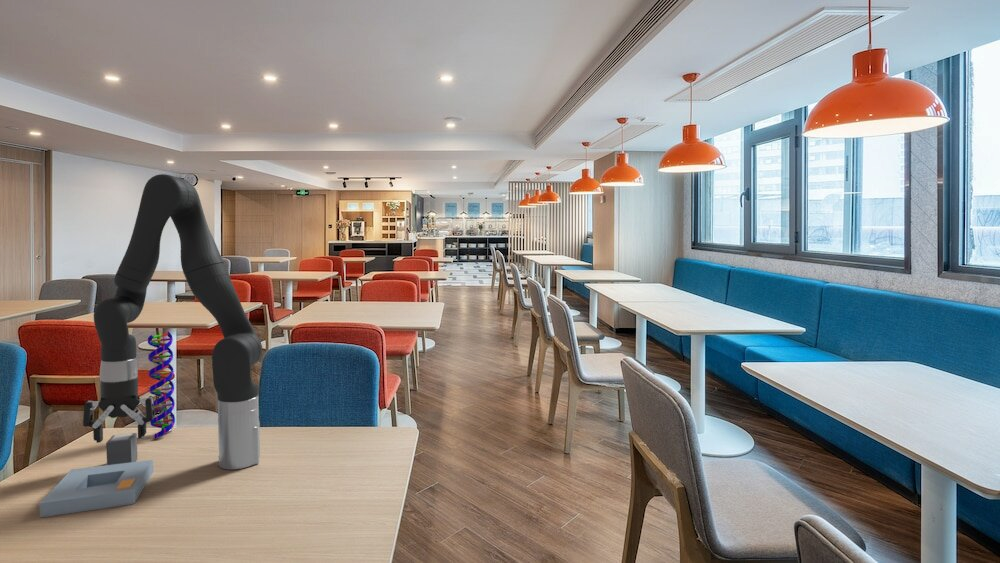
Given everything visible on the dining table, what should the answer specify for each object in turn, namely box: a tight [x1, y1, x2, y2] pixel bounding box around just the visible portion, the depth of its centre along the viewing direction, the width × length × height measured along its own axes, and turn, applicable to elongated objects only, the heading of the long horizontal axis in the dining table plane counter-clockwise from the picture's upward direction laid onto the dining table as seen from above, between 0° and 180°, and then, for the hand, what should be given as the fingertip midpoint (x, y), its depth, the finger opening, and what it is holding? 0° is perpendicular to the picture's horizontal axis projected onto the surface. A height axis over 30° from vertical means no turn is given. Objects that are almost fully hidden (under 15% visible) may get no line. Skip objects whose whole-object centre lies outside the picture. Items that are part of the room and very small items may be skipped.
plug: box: [105, 432, 138, 465], centre depth 127 cm, size 5×5×7 cm
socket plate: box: [38, 459, 154, 518], centre depth 113 cm, size 16×16×3 cm
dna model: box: [147, 331, 176, 440], centre depth 144 cm, size 6×6×30 cm
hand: (120, 439), depth 127 cm, fingers open, 8 cm apart
